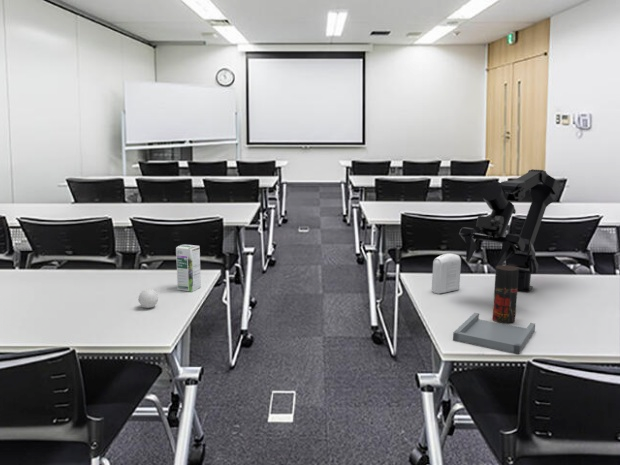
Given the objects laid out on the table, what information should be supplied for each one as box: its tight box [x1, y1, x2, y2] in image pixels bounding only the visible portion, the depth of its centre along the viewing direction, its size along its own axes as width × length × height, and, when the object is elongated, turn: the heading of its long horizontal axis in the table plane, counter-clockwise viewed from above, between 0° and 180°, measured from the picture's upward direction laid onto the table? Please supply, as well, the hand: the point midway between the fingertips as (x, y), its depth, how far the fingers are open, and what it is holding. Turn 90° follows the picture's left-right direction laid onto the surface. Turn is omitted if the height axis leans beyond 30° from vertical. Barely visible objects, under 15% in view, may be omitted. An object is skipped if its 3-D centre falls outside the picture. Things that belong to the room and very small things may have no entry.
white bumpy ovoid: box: [137, 288, 159, 309], centre depth 163 cm, size 8×6×6 cm
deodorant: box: [492, 264, 519, 325], centre depth 152 cm, size 6×6×15 cm
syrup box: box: [175, 244, 202, 292], centre depth 181 cm, size 6×6×14 cm
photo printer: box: [431, 253, 462, 294], centre depth 179 cm, size 10×4×12 cm, turn 123°
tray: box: [452, 312, 536, 355], centre depth 142 cm, size 18×16×2 cm
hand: (481, 264), depth 161 cm, fingers open, 9 cm apart
